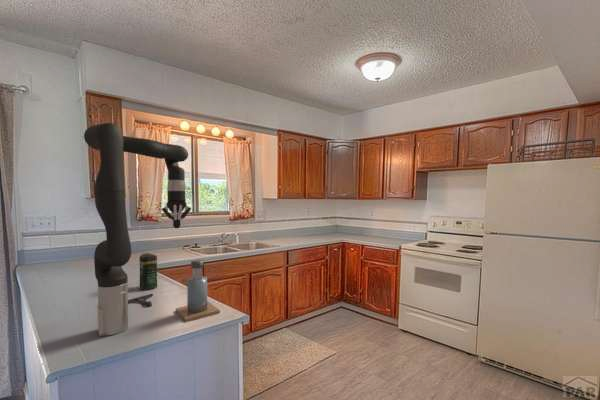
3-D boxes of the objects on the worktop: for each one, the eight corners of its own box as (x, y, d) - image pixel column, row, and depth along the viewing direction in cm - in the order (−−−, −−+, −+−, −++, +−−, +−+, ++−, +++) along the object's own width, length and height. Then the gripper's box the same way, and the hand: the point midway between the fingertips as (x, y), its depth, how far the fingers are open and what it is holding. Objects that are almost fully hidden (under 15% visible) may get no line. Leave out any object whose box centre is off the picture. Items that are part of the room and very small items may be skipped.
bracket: (133, 313, 124) (133, 306, 124) (119, 305, 133) (119, 299, 133) (166, 303, 135) (166, 297, 135) (151, 296, 144) (151, 291, 144)
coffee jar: (159, 288, 155) (159, 254, 155) (143, 291, 150) (143, 256, 150) (153, 284, 162) (153, 251, 162) (137, 287, 157) (137, 253, 157)
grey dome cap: (196, 282, 117) (196, 264, 117) (189, 278, 123) (189, 261, 123) (208, 280, 120) (208, 262, 120) (201, 276, 126) (200, 259, 126)
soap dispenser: (185, 322, 113) (185, 273, 113) (175, 311, 124) (175, 266, 124) (219, 312, 122) (219, 267, 122) (207, 303, 133) (207, 262, 133)
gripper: (163, 189, 124) (163, 229, 125) (193, 190, 133) (194, 227, 133) (158, 190, 130) (159, 228, 130) (188, 190, 139) (188, 226, 139)
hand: (176, 228), depth 132 cm, fingers closed
